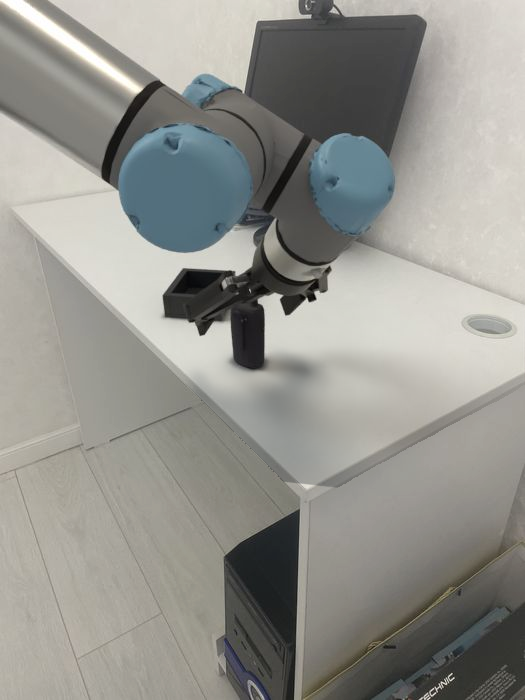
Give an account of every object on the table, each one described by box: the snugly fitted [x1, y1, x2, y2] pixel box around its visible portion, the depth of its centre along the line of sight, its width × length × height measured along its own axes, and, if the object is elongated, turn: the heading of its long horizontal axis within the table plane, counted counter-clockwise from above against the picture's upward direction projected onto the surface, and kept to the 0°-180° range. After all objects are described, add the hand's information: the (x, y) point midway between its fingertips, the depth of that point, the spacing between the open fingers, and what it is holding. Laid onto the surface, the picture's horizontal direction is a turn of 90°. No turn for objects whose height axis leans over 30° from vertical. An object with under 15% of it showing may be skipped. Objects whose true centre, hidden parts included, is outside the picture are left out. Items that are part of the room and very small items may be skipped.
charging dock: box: [161, 267, 237, 322], centre depth 95 cm, size 10×12×4 cm
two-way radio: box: [230, 290, 266, 369], centre depth 75 cm, size 6×4×15 cm
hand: (243, 316), depth 76 cm, fingers open, 13 cm apart
